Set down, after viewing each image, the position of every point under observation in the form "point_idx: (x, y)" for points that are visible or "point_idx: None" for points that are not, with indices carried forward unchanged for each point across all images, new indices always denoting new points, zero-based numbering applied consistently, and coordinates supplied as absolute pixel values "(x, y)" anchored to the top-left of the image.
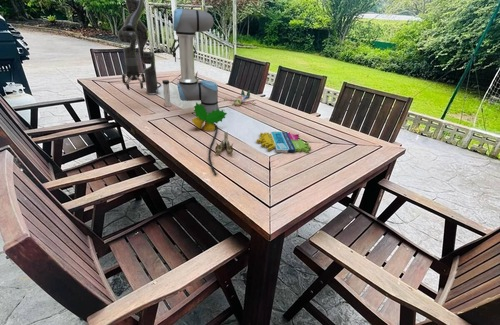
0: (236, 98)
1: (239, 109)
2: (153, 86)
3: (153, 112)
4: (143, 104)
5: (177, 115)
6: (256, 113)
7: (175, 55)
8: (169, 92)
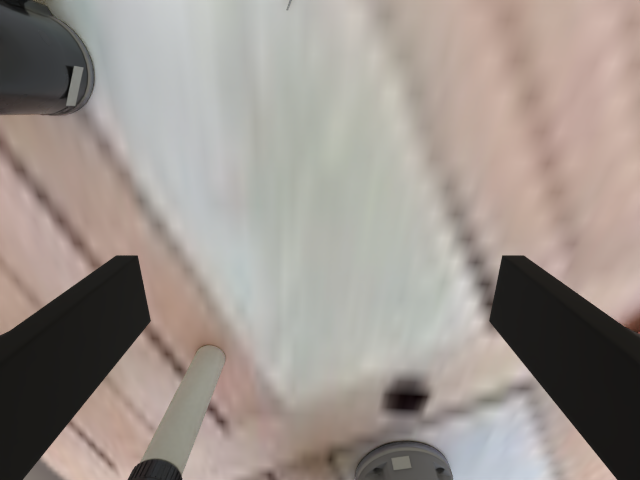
0: None
1: (568, 428)
2: (23, 111)
3: None
4: None
5: (264, 472)
6: None
7: (60, 427)
8: (201, 422)
